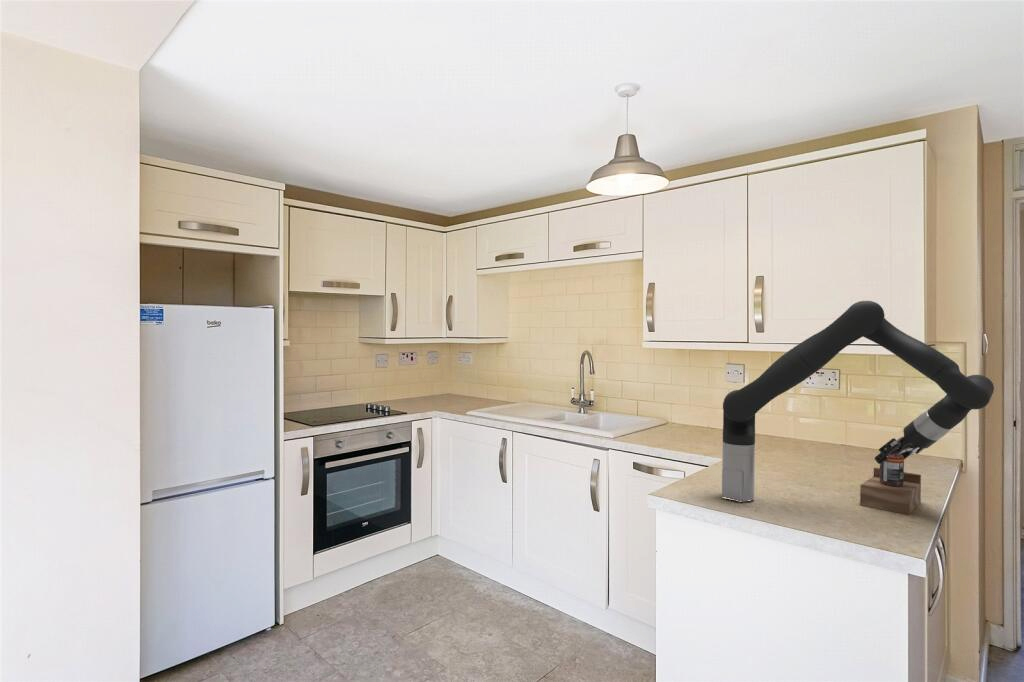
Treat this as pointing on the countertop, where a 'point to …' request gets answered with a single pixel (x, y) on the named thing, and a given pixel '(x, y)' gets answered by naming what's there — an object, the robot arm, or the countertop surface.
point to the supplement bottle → (892, 471)
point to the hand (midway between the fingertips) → (887, 460)
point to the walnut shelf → (892, 493)
